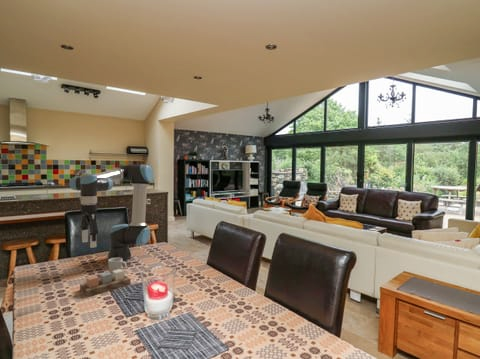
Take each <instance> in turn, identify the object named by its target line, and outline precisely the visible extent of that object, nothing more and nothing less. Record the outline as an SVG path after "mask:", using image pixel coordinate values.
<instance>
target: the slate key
mask: <svg viewBox="0 0 480 359" xmlns="http://www.w3.org/2000/svg"><path fill="white" fill-rule="evenodd" d="M99 279H100V283H101V284H102V285H103V284H107V283H110V282H112V274H111V273H110V272H109V271H106V272H103V273H99Z"/></svg>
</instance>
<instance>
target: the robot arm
mask: <svg viewBox="0 0 480 359" xmlns="http://www.w3.org/2000/svg"><path fill="white" fill-rule="evenodd" d="M153 179H154V170H153V169H152V167H151V166H150V165H147V164H125V165H120V166H116V167H113V168H112V169H111V170H106V171H102V172H98V173H89V174H88V173H83V174H81V176H73V177H72V178H71V179H70V181H69V187H70V189H71V190H73V191H77V192H79V191H80V198H79V201H80V204H81V205H80V212H81V213H82V214H81V222H80V229H81V242H82V244H84V243H88V242H89V241H90V242H89V248H90V249H92V248H97V247H98V246H97V239H98V238H97V234H98V235H99V228H98V222H97V215H96V214H94V212H97V211H98V193H99V192H107V191H110V190H112V189H113V187H114V182H117V183H118V182H131V185H132V186H133V193H132V209H131V210H132V211H131V222H130V223H129V224H127V223H122V224H116V225H112V226H111V227H110V228H109V251H108V253H107V258H106V259H107V260H106V261H108V260H109V259H111V258H116V257H119V258H122V259H123V260H122V261H124V262H126V261H128V260H130V259H131V258H132V252H131V250H130V247H129V246H130V245H133V246H134V245H135V246H145V245H146V244H147V243H148V242H149V240H150V238H151V229H150V228H149V227H148V224H147V223H146V213H147V212H146V210H147V194H148V193H147V192H148V187H149V186H150V183H151V182H153ZM89 232H90V233H89ZM89 236H90V237H89ZM89 238H90V240H89Z"/></svg>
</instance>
